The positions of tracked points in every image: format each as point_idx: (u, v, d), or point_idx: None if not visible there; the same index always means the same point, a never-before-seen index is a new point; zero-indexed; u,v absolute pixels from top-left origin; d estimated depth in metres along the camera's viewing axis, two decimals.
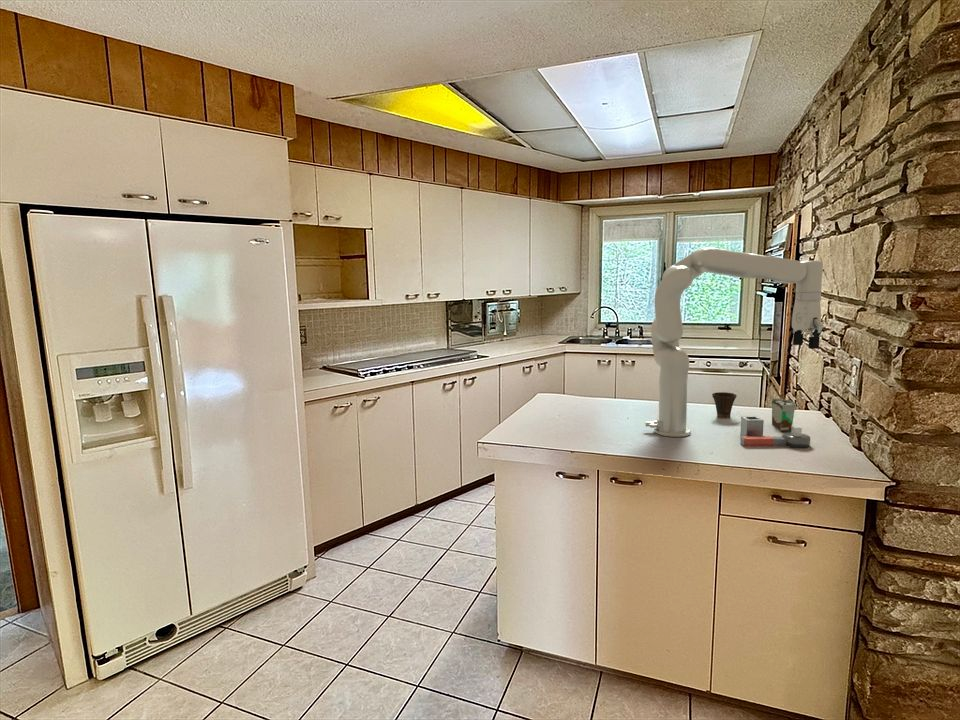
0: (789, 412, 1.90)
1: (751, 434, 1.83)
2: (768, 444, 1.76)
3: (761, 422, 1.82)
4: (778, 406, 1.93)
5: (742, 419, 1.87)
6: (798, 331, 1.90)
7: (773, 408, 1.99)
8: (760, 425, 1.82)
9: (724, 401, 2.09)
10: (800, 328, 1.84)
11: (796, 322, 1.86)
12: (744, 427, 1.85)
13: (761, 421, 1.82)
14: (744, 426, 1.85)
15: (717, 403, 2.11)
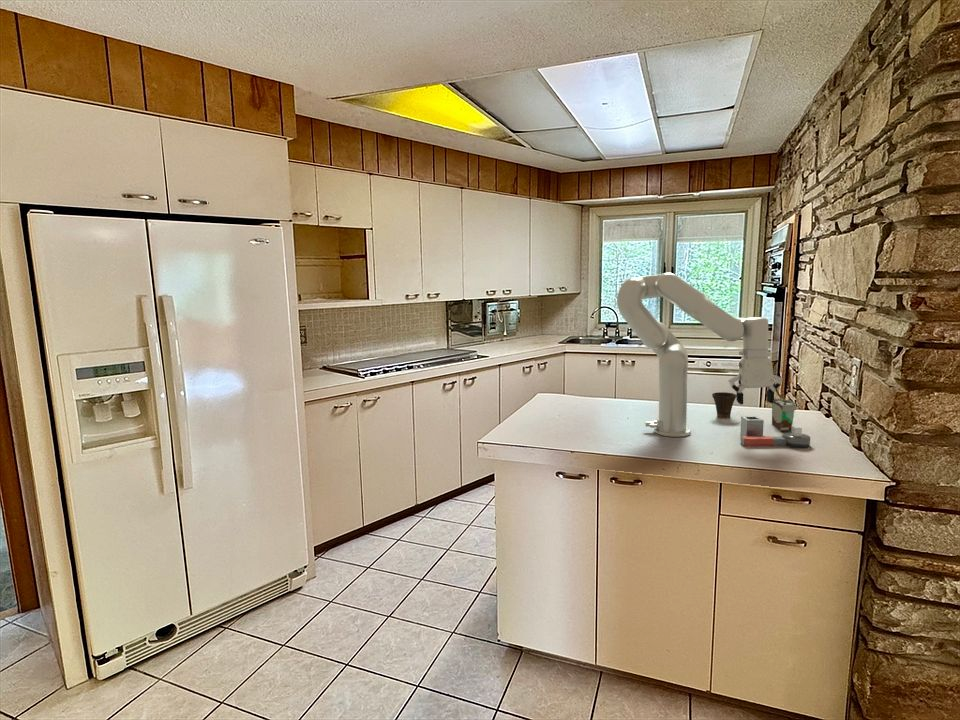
0: (789, 412, 1.90)
1: (751, 434, 1.83)
2: (768, 444, 1.76)
3: (761, 422, 1.82)
4: (778, 406, 1.93)
5: (742, 419, 1.87)
6: None
7: (773, 408, 1.99)
8: (760, 425, 1.82)
9: (724, 401, 2.09)
10: (763, 385, 1.80)
11: (754, 380, 1.80)
12: (744, 427, 1.85)
13: (761, 421, 1.82)
14: (744, 426, 1.85)
15: (717, 403, 2.11)
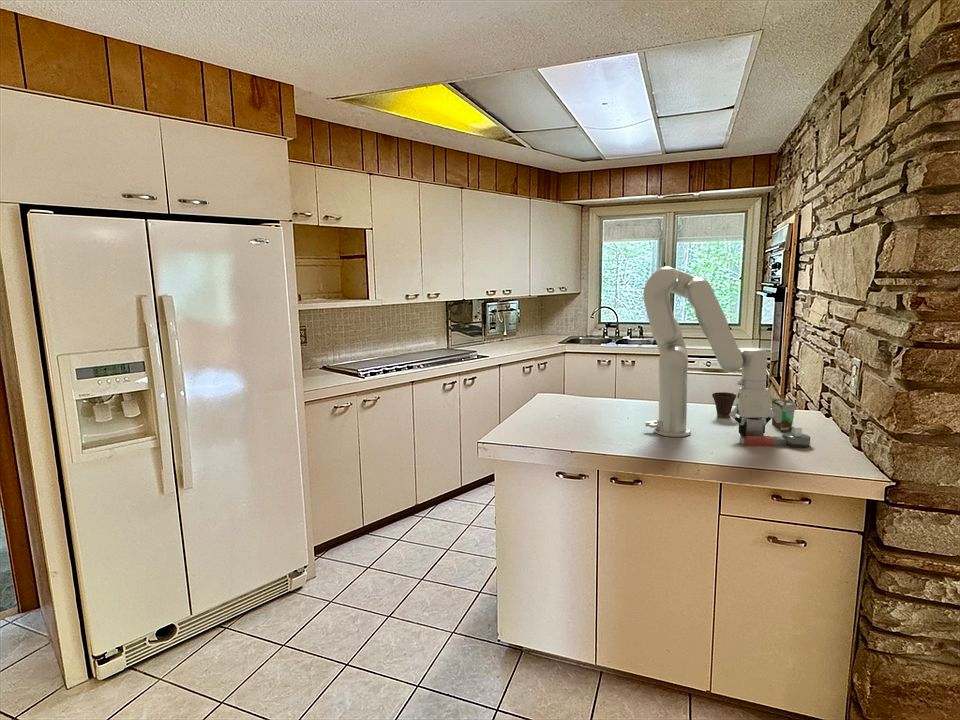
0: (789, 412, 1.90)
1: (751, 434, 1.83)
2: (768, 444, 1.76)
3: (761, 422, 1.82)
4: (778, 406, 1.93)
5: None
6: None
7: (773, 408, 1.99)
8: (760, 425, 1.82)
9: (724, 401, 2.09)
10: (760, 416, 1.82)
11: (752, 411, 1.82)
12: None
13: (761, 421, 1.82)
14: None
15: (717, 403, 2.11)
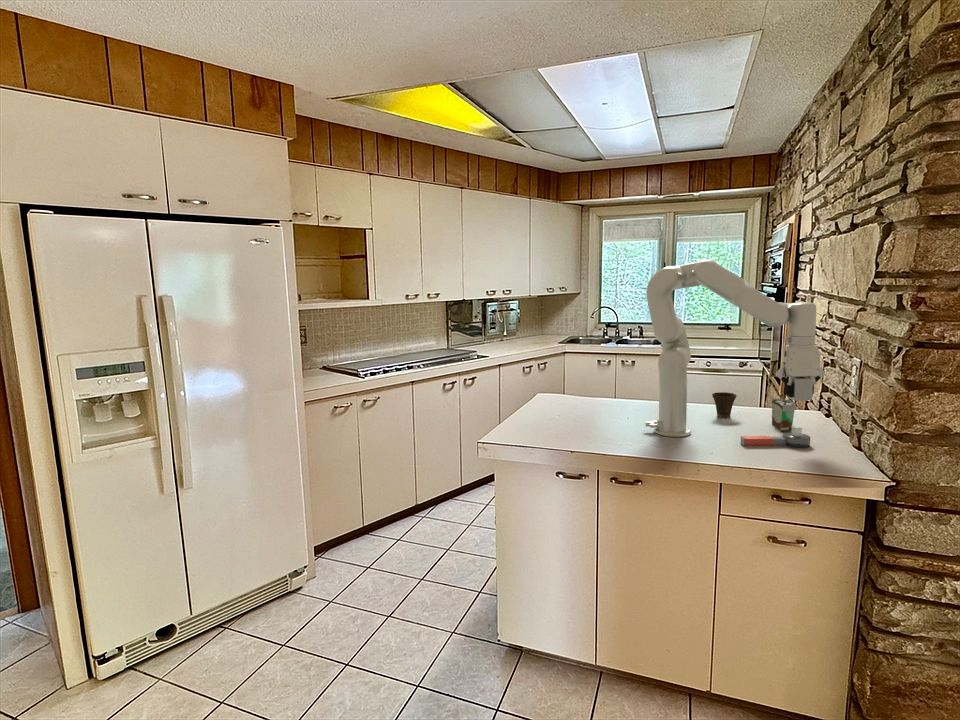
0: (789, 412, 1.90)
1: (800, 394, 1.72)
2: (768, 444, 1.76)
3: (810, 381, 1.71)
4: (778, 406, 1.93)
5: None
6: None
7: (773, 408, 1.99)
8: (809, 384, 1.71)
9: (724, 401, 2.09)
10: (809, 374, 1.70)
11: (800, 369, 1.70)
12: None
13: (810, 380, 1.71)
14: None
15: (717, 403, 2.11)
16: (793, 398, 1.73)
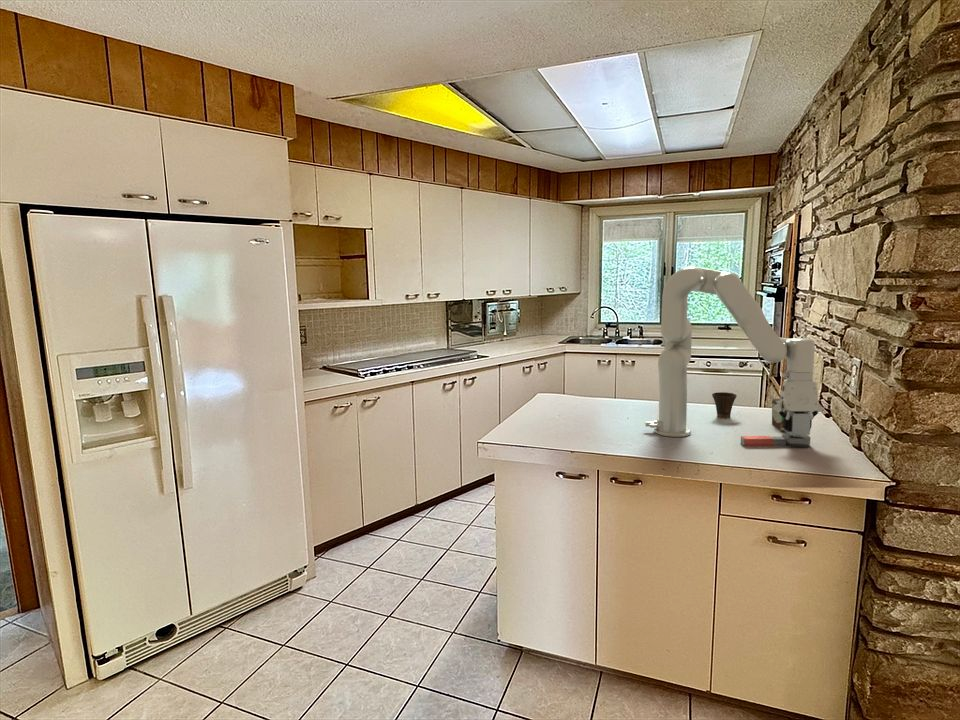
0: None
1: (797, 429, 1.73)
2: (768, 444, 1.76)
3: (808, 416, 1.73)
4: None
5: None
6: None
7: None
8: (807, 419, 1.73)
9: (724, 401, 2.09)
10: (807, 409, 1.72)
11: (798, 404, 1.72)
12: None
13: (808, 415, 1.72)
14: None
15: (717, 403, 2.11)
16: (791, 432, 1.74)
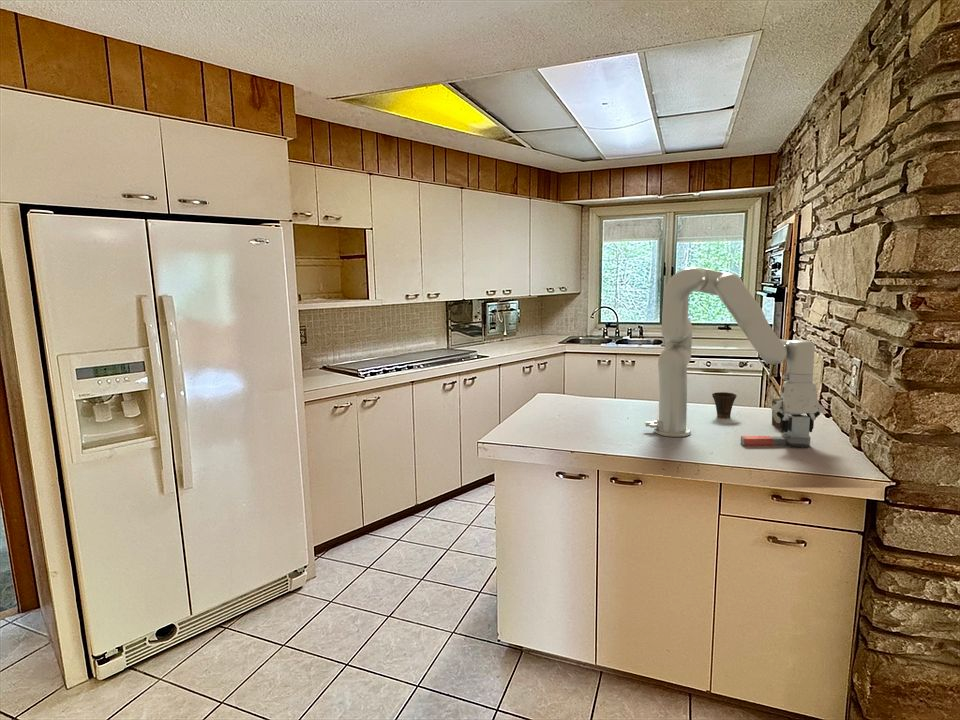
0: None
1: (796, 432, 1.74)
2: (768, 444, 1.76)
3: (807, 420, 1.73)
4: None
5: None
6: None
7: None
8: (806, 423, 1.73)
9: (724, 401, 2.09)
10: (806, 411, 1.72)
11: (798, 406, 1.72)
12: (788, 425, 1.76)
13: (807, 418, 1.73)
14: (789, 424, 1.75)
15: (717, 403, 2.11)
16: (790, 436, 1.75)
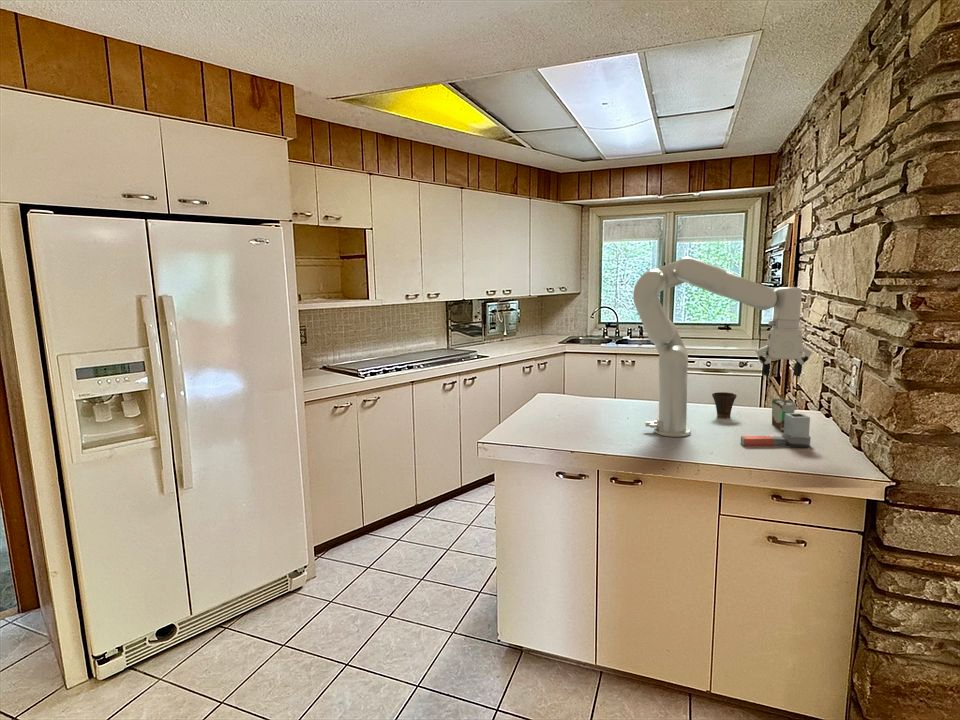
0: (789, 412, 1.90)
1: (796, 432, 1.74)
2: (768, 444, 1.76)
3: (807, 420, 1.73)
4: (778, 406, 1.93)
5: (786, 416, 1.77)
6: None
7: (773, 408, 1.99)
8: (806, 423, 1.73)
9: (724, 401, 2.09)
10: (791, 357, 1.75)
11: (783, 351, 1.75)
12: (788, 425, 1.76)
13: (807, 418, 1.73)
14: (789, 424, 1.75)
15: (717, 403, 2.11)
16: (790, 436, 1.75)
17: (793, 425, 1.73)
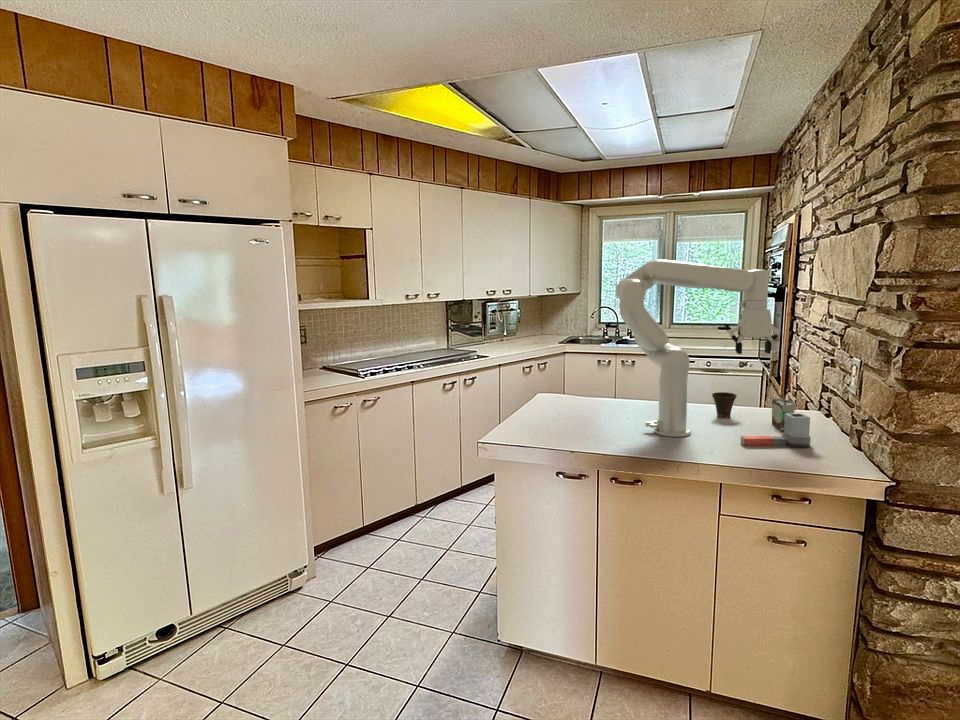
0: (789, 412, 1.90)
1: (797, 432, 1.74)
2: (768, 444, 1.76)
3: (807, 420, 1.73)
4: (778, 406, 1.93)
5: (786, 416, 1.77)
6: None
7: (773, 408, 1.99)
8: (806, 423, 1.73)
9: (724, 401, 2.09)
10: (761, 335, 1.86)
11: (753, 330, 1.86)
12: (788, 425, 1.76)
13: (807, 418, 1.73)
14: (789, 424, 1.75)
15: (717, 403, 2.11)
16: (790, 436, 1.75)
17: (793, 425, 1.73)
